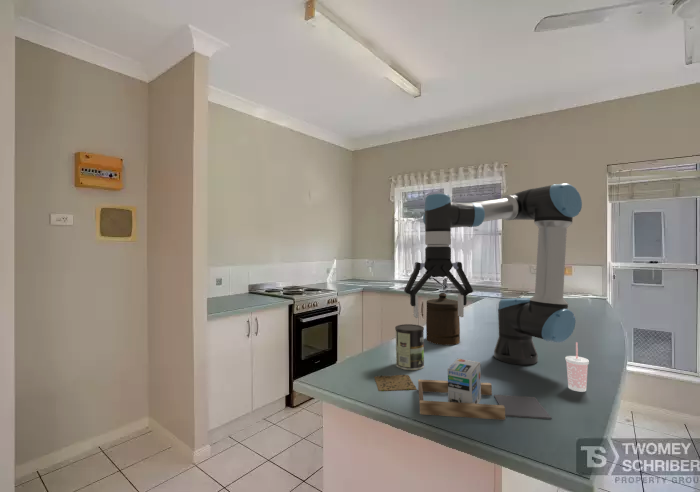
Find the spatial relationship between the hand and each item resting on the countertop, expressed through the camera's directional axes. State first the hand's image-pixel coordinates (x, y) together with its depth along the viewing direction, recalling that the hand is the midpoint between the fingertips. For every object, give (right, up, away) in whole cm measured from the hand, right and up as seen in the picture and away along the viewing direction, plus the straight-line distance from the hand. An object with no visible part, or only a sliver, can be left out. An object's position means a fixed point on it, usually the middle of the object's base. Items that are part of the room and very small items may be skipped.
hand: (438, 316), depth 105 cm
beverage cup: (+42, -22, +1) cm, 48 cm away
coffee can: (-5, -23, +23) cm, 33 cm away
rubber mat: (+20, -22, -10) cm, 31 cm away
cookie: (-12, -23, +7) cm, 27 cm away
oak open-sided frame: (+3, -23, -8) cm, 24 cm away
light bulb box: (+5, -23, -8) cm, 25 cm away
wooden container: (+16, -22, +55) cm, 62 cm away
